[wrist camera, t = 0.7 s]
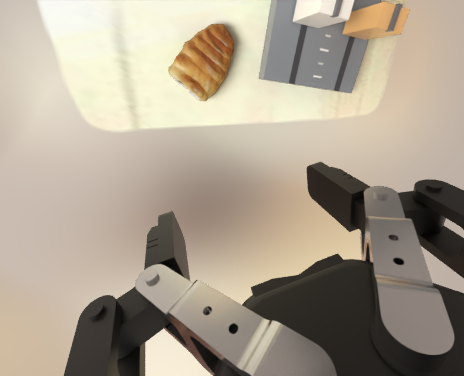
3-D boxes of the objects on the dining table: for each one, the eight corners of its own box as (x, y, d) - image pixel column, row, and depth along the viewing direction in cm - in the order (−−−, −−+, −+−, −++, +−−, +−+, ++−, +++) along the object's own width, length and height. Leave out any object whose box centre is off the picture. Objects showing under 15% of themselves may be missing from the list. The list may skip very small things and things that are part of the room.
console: (284, -76, 28) (292, -86, 26) (383, -38, 33) (396, -45, 31) (258, 78, 35) (263, 79, 33) (343, 92, 40) (351, 93, 38)
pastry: (204, 10, 30) (210, 3, 27) (243, 50, 33) (252, 47, 30) (164, 74, 32) (165, 74, 29) (204, 105, 35) (208, 109, 32)
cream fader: (297, -2, 30) (328, -19, 24) (323, 5, 31) (359, -10, 25) (292, 22, 31) (321, 11, 25) (318, 28, 32) (351, 19, 26)
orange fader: (348, 12, 32) (387, -1, 26) (371, 18, 33) (413, 8, 28) (342, 34, 33) (378, 27, 28) (364, 40, 34) (404, 33, 29)
